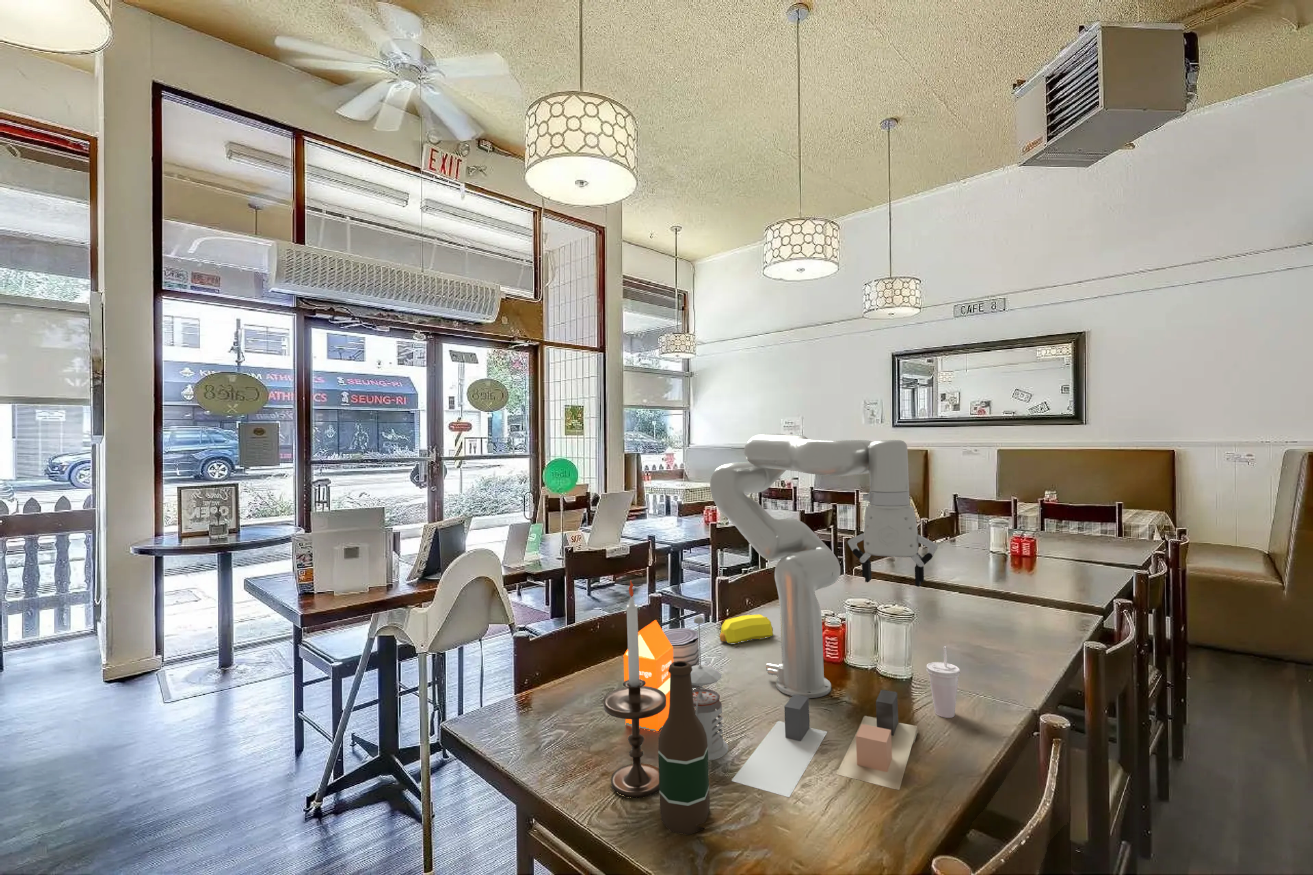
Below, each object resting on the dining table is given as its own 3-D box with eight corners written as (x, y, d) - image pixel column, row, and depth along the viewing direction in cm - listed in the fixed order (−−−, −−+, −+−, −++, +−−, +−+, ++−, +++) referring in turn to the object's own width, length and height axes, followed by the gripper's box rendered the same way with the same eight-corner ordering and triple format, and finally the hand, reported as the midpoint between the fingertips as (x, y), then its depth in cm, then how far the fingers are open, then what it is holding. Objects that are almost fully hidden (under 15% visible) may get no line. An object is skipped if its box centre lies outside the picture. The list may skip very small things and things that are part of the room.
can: (701, 692, 136) (699, 641, 137) (652, 694, 137) (651, 642, 137) (698, 673, 148) (697, 626, 148) (654, 674, 148) (652, 627, 148)
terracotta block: (857, 764, 102) (855, 735, 102) (862, 751, 106) (861, 723, 106) (887, 772, 99) (886, 742, 99) (892, 758, 104) (891, 729, 104)
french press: (733, 737, 115) (729, 610, 115) (720, 769, 104) (715, 628, 104) (685, 731, 118) (681, 607, 119) (667, 761, 107) (663, 624, 108)
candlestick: (663, 803, 94) (656, 587, 95) (598, 799, 96) (592, 586, 97) (673, 767, 105) (666, 572, 106) (614, 763, 107) (608, 572, 108)
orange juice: (675, 713, 126) (672, 620, 126) (658, 732, 118) (655, 633, 118) (643, 707, 129) (640, 617, 130) (624, 725, 121) (621, 629, 122)
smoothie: (966, 721, 118) (963, 652, 119) (932, 719, 120) (929, 651, 120) (956, 707, 125) (954, 641, 125) (924, 705, 126) (922, 640, 126)
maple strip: (836, 779, 99) (834, 738, 99) (864, 720, 120) (863, 686, 120) (899, 796, 94) (897, 752, 94) (917, 731, 115) (916, 695, 115)
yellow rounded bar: (713, 640, 173) (726, 648, 166) (713, 617, 174) (725, 624, 166) (765, 631, 180) (779, 638, 173) (764, 609, 180) (779, 615, 173)
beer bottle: (658, 806, 94) (653, 656, 94) (705, 802, 94) (700, 653, 95) (662, 838, 86) (657, 675, 86) (714, 833, 87) (709, 671, 87)
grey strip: (731, 786, 98) (730, 744, 98) (778, 725, 119) (777, 691, 119) (789, 803, 93) (787, 759, 93) (827, 736, 114) (826, 700, 114)
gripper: (842, 500, 121) (845, 583, 121) (934, 502, 113) (937, 591, 112) (850, 497, 128) (853, 575, 127) (937, 498, 119) (941, 583, 119)
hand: (892, 583), depth 120 cm, fingers open, 9 cm apart
